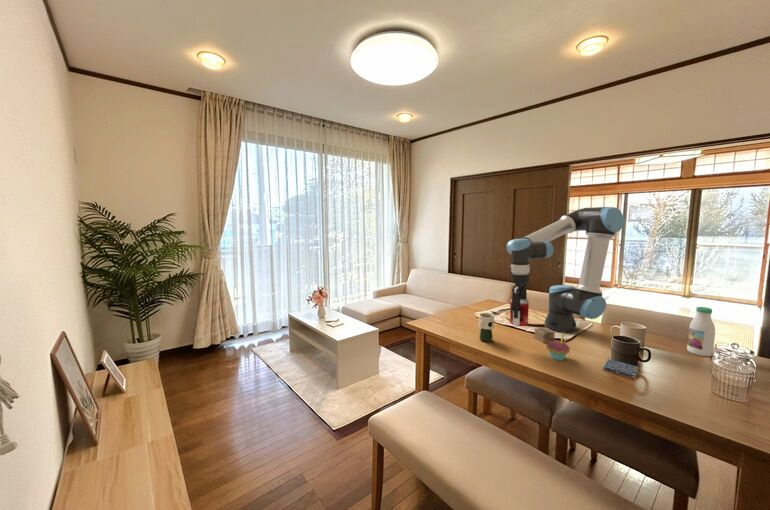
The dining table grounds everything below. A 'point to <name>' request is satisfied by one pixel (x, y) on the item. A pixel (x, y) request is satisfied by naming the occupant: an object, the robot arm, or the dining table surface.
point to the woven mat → (621, 368)
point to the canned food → (521, 312)
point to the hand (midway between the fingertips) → (519, 321)
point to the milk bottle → (701, 333)
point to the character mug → (486, 326)
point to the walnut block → (544, 335)
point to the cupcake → (558, 349)
